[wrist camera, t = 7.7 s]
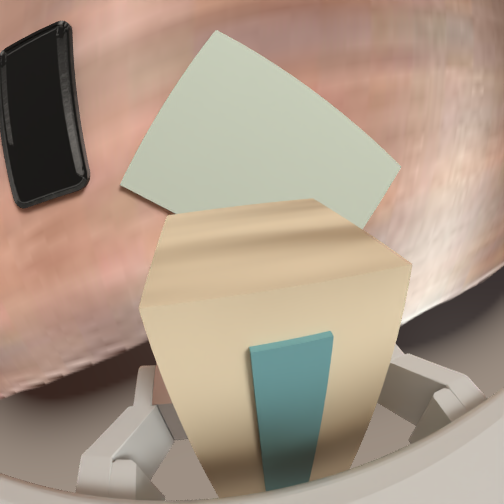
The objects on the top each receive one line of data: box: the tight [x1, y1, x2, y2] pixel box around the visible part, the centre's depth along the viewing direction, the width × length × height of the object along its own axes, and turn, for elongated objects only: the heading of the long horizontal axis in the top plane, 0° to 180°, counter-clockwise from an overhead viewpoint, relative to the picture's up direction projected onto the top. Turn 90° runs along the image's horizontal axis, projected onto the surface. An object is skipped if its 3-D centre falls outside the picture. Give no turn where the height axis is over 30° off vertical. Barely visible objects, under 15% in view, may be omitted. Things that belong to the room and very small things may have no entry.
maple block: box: [139, 198, 412, 498], centre depth 8 cm, size 9×4×5 cm, turn 4°
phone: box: [0, 21, 90, 208], centre depth 17 cm, size 8×1×15 cm
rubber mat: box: [120, 30, 401, 229], centre depth 23 cm, size 20×14×1 cm
